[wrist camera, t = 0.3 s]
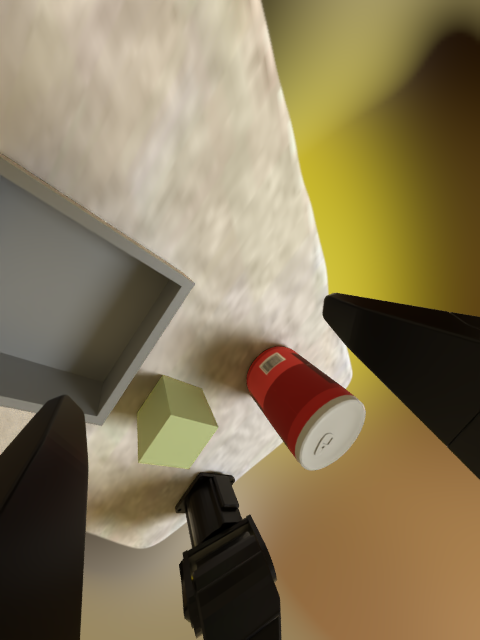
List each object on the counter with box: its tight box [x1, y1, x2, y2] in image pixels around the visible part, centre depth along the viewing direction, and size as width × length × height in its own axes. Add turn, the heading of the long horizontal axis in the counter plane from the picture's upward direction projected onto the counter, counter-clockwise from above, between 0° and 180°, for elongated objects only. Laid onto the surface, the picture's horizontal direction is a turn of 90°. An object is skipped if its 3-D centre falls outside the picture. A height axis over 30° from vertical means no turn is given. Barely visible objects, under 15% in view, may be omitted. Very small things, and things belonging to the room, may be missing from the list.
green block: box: [137, 375, 218, 469], centre depth 22 cm, size 5×5×6 cm
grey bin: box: [0, 153, 195, 426], centre depth 15 cm, size 13×13×5 cm
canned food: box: [247, 346, 366, 470], centre depth 25 cm, size 8×8×11 cm
